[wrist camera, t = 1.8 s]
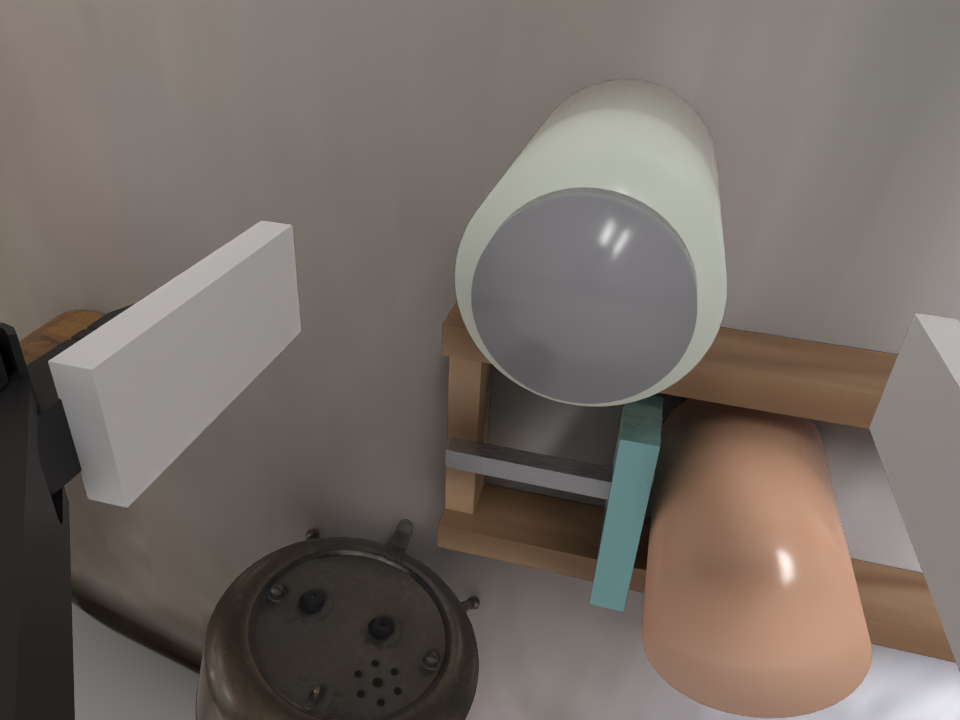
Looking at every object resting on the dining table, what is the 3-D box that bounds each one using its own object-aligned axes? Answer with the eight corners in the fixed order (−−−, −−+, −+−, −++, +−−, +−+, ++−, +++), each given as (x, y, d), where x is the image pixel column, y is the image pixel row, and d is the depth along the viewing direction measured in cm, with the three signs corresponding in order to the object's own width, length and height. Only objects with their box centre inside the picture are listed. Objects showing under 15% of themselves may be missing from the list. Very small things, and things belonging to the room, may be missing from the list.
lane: (465, 287, 27) (442, 324, 25) (1406, 433, 22) (1498, 499, 19) (457, 498, 33) (437, 546, 30) (1208, 656, 27) (1259, 730, 25)
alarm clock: (286, 543, 37) (51, 898, 24) (299, 467, 34) (39, 824, 21) (488, 624, 36) (365, 1039, 23) (519, 553, 33) (400, 982, 20)
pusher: (470, 331, 27) (430, 403, 23) (665, 363, 26) (660, 446, 22) (464, 481, 31) (428, 567, 27) (633, 516, 30) (623, 612, 26)
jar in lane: (671, 373, 27) (661, 547, 19) (844, 402, 26) (905, 599, 18) (644, 496, 30) (627, 687, 22) (797, 527, 29) (833, 738, 21)
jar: (537, 70, 23) (448, 152, 15) (736, 89, 22) (761, 189, 13) (522, 249, 26) (442, 400, 18) (695, 274, 25) (695, 447, 17)
